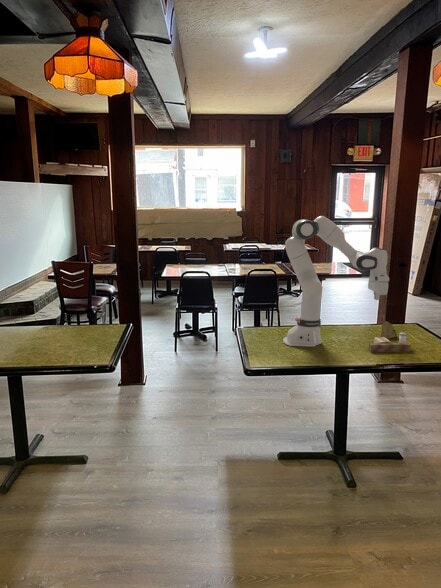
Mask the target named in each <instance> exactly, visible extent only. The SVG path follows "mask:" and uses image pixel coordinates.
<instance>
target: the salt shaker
mask: <svg viewBox="0 0 441 588" xmlns="http://www.w3.org/2000/svg"><path fill="white" fill-rule="evenodd" d="M398 335H399V337H398V338H399V340H398V343H407V335H408V333H407V332H402V331H400V332H399V334H398Z"/></svg>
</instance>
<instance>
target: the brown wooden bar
mask: <svg viewBox="0 0 441 588" xmlns="http://www.w3.org/2000/svg"><path fill="white" fill-rule="evenodd" d="M411 348H412V345H411V343H410V342H406V343H399V342H391V343H374V342H373V343H372V342H371V343H368V352H369V353H390V352H391V353H393V352H394V353H396V352H397V353H399V352H407V353H409V352H411V350H412V349H411Z"/></svg>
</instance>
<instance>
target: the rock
mask: <svg viewBox="0 0 441 588" xmlns="http://www.w3.org/2000/svg"><path fill="white" fill-rule="evenodd" d="M380 337H385V338H386V339H388V340H389V339H393V338H397V337H398V335H397V331H396V329H395V328H394V326H393V324H392V323H391V322H389V321H387V320H386V321H382V324H381V334H380Z"/></svg>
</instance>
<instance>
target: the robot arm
mask: <svg viewBox="0 0 441 588" xmlns="http://www.w3.org/2000/svg"><path fill="white" fill-rule="evenodd" d="M314 236H317V237H319V238H320V239H321V240H322V241H323V242H325V243H326V244H327V245H329V246H331V247H332V248H335V249H337V250H339V251H340V252H341V253H342V254H343V255H344V256H345V257H346V258H347V259H348V261H349V264H350V265H351V267H353V268H354V269H358V270H359V271H362V272H366V271H370V272H369V278H368V280H367V281H368V283H367V289H368V290H371V291H372V292H373V299H374V300H376V301H379V300H380V297H381V296H387V295H388V293H389V291H388V290H389V282H390V277H389V275H388V273H387V271H388V270H387V265H388V252H387V250H386V249H385V248H380V247H372V249H371V250H367V251H366V252H362V251H360V250H357V249H355V248H354V247H353V246H352V245H351V243H349V242H347V240H346V236H345V233H344V232H343V230H342V229H341V228H340V226H339V225H337V224H336V223H335V222H334V221H332V220H331V219H329V218H328V217H326V216H325V215H320V216H317V217H316V218H315V219H314V220H311V219H305V218H304V219H303V218H301V219H298V220H296V221H294V222H293V224H292V226H291V234H290V237H288V238H287V240H285V242H284V248H285V251H286V254H287V257H288V259H289V262H290V265H291V266H292V269H293V271H294V274H295V276H296V278H297V280H298V282H299V283H298V284H299V285H300V288H301V291H302V292H301V293H302V294H301V302H300V317H299V318H298V317H296V318H295V322H296V324H295V325H294V326H293V327H291V328H290V329H288V331H287V334H286V336H285V337H283V339H282V341H283V343H284V344H285V345H287V346H292V347H312V348H313V347H316V346H318V345H321V344H322V343H323V341H322V337H321V326H322V325H321V324H322V320H321V305H322V298H323V283H322V282H321V280H320V279H319V277H318V274H317V272H316V269H315V267H314V264H313V261H312V258H311V256H310V254H309V252H308V250H307V248H306V240H308V239H312V238H313V237H314Z"/></svg>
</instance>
